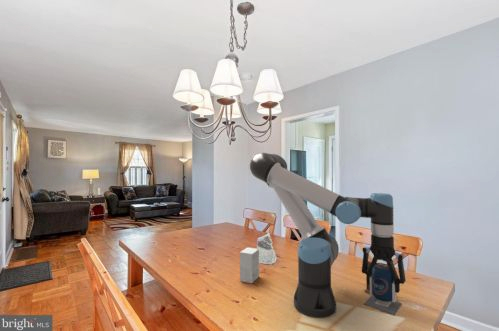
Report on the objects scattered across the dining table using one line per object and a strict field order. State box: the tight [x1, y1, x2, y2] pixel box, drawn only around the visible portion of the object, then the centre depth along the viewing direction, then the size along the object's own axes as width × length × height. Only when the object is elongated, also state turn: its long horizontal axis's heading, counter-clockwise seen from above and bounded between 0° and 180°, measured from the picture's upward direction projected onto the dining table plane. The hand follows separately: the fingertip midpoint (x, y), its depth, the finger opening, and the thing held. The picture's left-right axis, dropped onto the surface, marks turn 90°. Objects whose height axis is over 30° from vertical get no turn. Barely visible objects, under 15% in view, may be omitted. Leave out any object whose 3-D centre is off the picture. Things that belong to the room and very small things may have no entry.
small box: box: [239, 247, 260, 284], centre depth 113 cm, size 8×6×13 cm
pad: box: [363, 294, 403, 316], centre depth 91 cm, size 10×10×1 cm
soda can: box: [372, 262, 394, 302], centre depth 91 cm, size 7×7×12 cm
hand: (383, 296), depth 91 cm, fingers closed on soda can, 7 cm apart
